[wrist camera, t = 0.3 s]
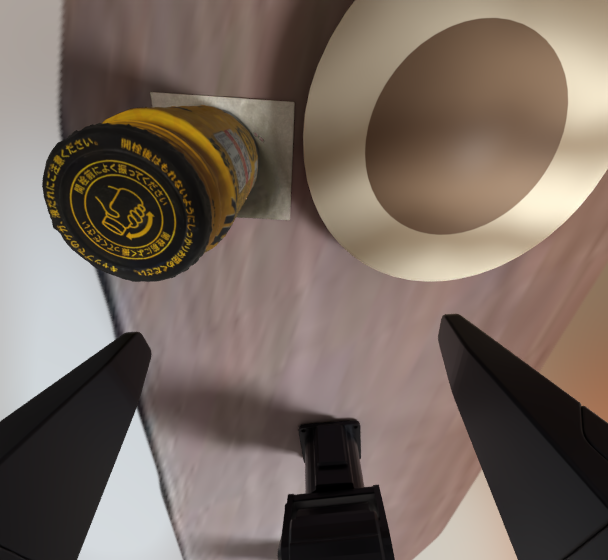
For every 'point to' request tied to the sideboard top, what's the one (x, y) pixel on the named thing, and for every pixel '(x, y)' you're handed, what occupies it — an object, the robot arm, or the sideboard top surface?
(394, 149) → the ring
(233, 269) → the sideboard top surface
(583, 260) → the sideboard top surface
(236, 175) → the condiment
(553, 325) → the sideboard top surface
